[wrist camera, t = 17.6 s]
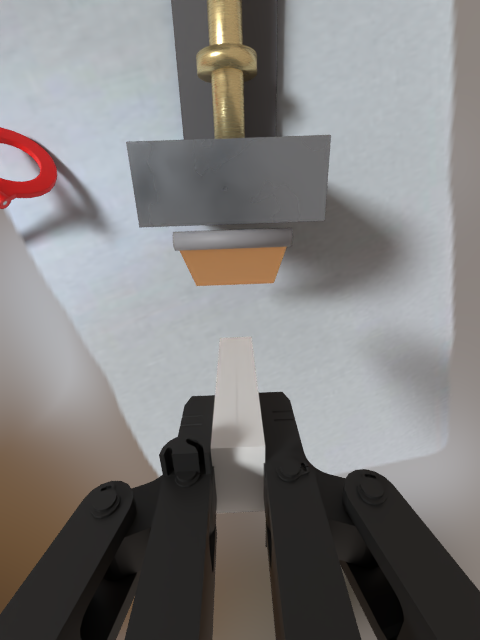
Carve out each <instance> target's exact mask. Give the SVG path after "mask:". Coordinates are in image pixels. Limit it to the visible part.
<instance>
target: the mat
mask: <svg viewBox="0 0 480 640" xmlns="http://www.w3.org/2000/svg"><path fill="white" fill-rule="evenodd" d="M277 3H278V0H242V30H243V45H245V46H248V47H250V48H252V49H254V50H255V51H256V53H257V75H256V76H255V77H254V78H253V79H251V80H249V81H246V82H244V120H245V138H255V137H276V82H277ZM171 4H172V15H173V26H174V37H175V48H176V59H177V70H178V81H179V92H180V103H181V114H182V125H183V136H184V140H196V139H215V137H214V119H213V102H212V84H211V83H209V82H205V81H203V80H201V79H200V78H199V77H198V75H197V63H196V55H197V53H198V52H199V51H200V50H201V49H203V48H205V47H207V46H209V31H208V13H207V0H171Z"/></svg>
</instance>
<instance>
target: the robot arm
mask: <svg viewBox="0 0 480 640" xmlns="http://www.w3.org/2000/svg"><path fill="white" fill-rule="evenodd" d="M159 457H160V462H161V467H162V472H163V475H162V476H160V477H159V478H157V479H156V480H154V481H152V482H150V483H147V484H144V485H141V486H139V487H135V488H132V489H131V488H130V486H129V485H128V484H127V483H124V482H122V481H110V482H107V483H104V484H101V485H100V486H98V487H97V488H95V489H93V490H92V491H91V492H90V493H89V494H88V495H87V496H86V497H85V498H84V499H83V501H82V502H81V504H80V505H79V506H78V508H77V509H76V511H75V512H74V513H73V515H72V516H71V517H70V519H69V520H68V522H67V523H66V525H65V526H64V527H63V529H62V530H61V531H60V533H59V534H58V535H57V537H56V538H55V540H54V541H53V542H52V544H51V545H50V546H49V548H48V549H47V551H46V552H45V553H44V555H43V556H42V558H41V559H40V560H39V562H38V563H37V564H36V566H35V567H34V569H33V570H32V571H31V573H30V574H29V575H28V577H27V578H26V580H25V581H24V582H23V584H22V585H21V586H20V588H19V589H18V591H17V592H16V593H15V595H14V596H13V597H12V599H11V600H10V602H9V603H8V604H7V606H6V607H5V609H4V610H3V611H2V613H1V614H0V640H116V638H117V636H118V633H119V631H120V629H121V626H122V624H123V622H124V620H125V617H126V615H127V613H128V610H129V608H130V606H131V603H132V601H133V599H134V602H133V607H132V611H131V615H130V619H129V623H128V628H127V632H126V636H125V640H212V635H213V612H214V611H213V610H214V588H215V564H216V542H217V530H216V510H217V513H235V512H258V511H265V516H266V547H267V549H268V561H269V571H270V582H271V592H272V603H273V614H274V625H275V634H276V635H275V636H276V640H361V637H360V633H359V630H358V626H357V623H356V619H355V616H354V612H353V609H352V605H351V601H350V598H349V594H348V591H347V587H346V584H345V580H344V577H343V573H342V569H343V571H344V573H345V575H346V577H347V579H348V581H349V583H350V585H351V587H352V589H353V591H354V593H355V595H356V597H357V599H358V601H359V603H360V605H361V607H362V609H363V611H364V613H365V615H366V617H367V619H368V621H369V623H370V625H371V627H372V629H373V631H374V633H375V635H376V637H377V639H378V640H480V591H479V590H478V589H477V588H476V586H475V585H474V584H473V583H472V581H470V579H469V578H468V576H467V575H466V574H465V573H464V572H463V570H462V569H461V568H460V567H459V565H458V564H457V563H456V562H455V560H454V559H453V558H452V557H451V556H450V554H449V553H448V552H447V551H446V549H445V548H444V547H443V546H442V544H441V543H440V542H439V541H438V539H437V538H436V537H435V536H434V535H433V533H432V532H431V531H430V530H429V528H428V527H427V526H426V525H425V524H424V522H423V521H422V520H421V519H420V517H419V516H418V515H417V514H416V513H415V511H414V510H413V509H412V508H411V506H410V505H409V504H408V503H407V501H406V500H405V499H404V498H403V496H402V495H401V494H400V493H399V492H398V490H397V489H396V488H395V487H394V485H393V484H392V483H391V482H389V481H388V480H387V479H386V478H385V477H384V476H382V475H380V474H378V473H376V472H374V471H370V470H366V469H363V470H355V471H353V472H351V473H349V474H348V476H347V477H346V478H342V477H338V476H334V475H330V474H327V473H324V472H322V471H320V470H318V469H316V468H315V467H314V466H313V465H312V464H310V462H309V461H308V460H307V458H306V456H305V454H304V451H303V447H302V443H301V440H300V436H299V432H298V429H297V425H296V421H295V417H294V414H293V410H292V406H291V402H290V400H289V399H288V398H287V397H286V395H285V394H284V393H283V392H266V393H258V385H257V377H256V369H255V361H254V353H253V345H252V337H235V338H220V344H219V355H218V367H217V379H216V391H215V395H212V396H192V397H191V398H190V399H189V401H188V402H187V403H186V404H185V407H184V411H183V417H182V420H181V426H180V429H179V434H178V437H176V438H174V439H172V440H170V441H169V442H168V443H167V444H166V445H165V446H164V447H163V448H162V450H161V452H160V454H159ZM340 565H341V566H340ZM341 567H342V569H341ZM134 596H135V598H134Z"/></svg>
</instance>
